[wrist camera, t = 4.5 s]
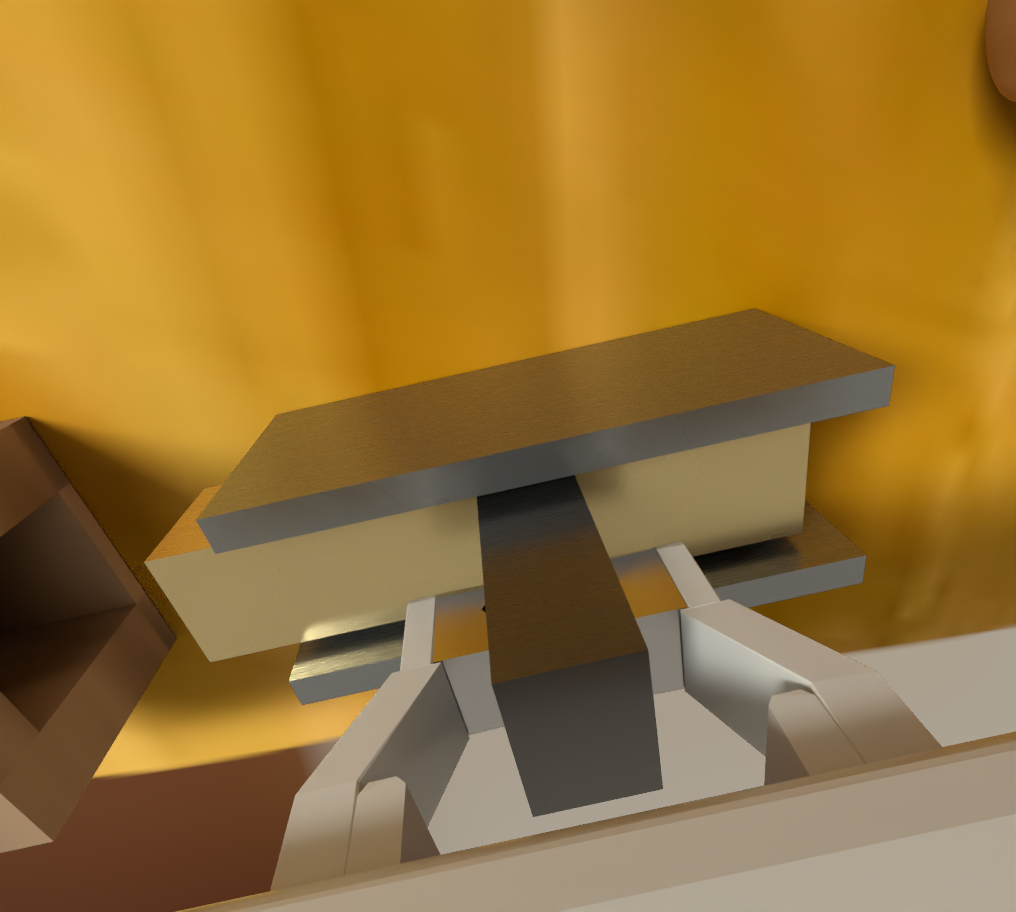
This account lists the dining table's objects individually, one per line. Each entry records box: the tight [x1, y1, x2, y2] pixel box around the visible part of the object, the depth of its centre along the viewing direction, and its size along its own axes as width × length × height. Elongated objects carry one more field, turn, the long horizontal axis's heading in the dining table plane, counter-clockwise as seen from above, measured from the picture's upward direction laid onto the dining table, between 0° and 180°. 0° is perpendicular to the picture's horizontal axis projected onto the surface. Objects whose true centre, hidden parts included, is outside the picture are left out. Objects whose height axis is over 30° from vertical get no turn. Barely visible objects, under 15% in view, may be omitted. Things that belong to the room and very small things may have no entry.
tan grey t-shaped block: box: [144, 423, 811, 817], centre depth 11 cm, size 14×3×8 cm, turn 101°
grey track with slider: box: [196, 309, 895, 705], centre depth 13 cm, size 13×5×5 cm, turn 101°
